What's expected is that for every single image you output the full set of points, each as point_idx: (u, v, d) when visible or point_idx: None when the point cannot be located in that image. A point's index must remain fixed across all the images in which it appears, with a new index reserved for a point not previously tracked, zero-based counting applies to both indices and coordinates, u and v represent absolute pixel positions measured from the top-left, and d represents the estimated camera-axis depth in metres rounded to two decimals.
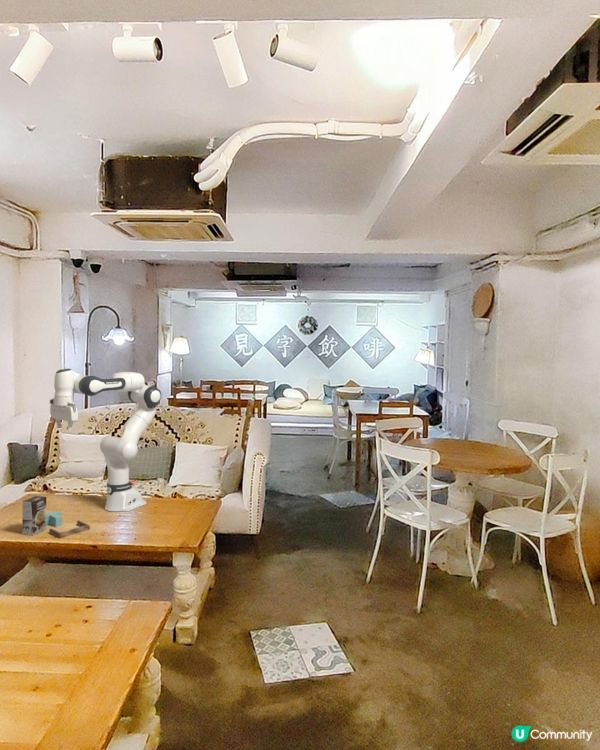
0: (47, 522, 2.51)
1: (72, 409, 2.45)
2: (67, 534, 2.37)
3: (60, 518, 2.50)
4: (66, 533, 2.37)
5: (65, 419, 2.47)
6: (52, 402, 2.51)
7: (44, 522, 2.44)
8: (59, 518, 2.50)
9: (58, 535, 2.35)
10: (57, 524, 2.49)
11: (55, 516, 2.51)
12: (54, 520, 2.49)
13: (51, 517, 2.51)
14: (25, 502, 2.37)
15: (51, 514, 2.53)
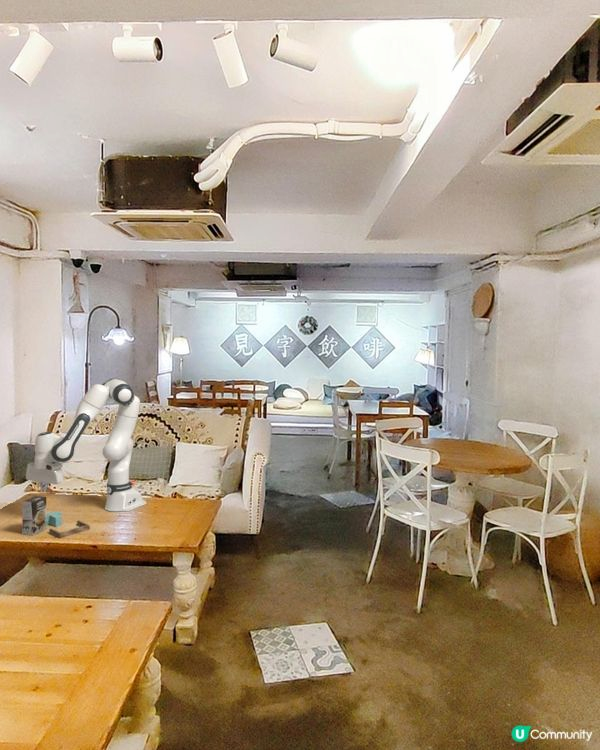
0: (47, 522, 2.51)
1: None
2: (67, 534, 2.37)
3: (60, 518, 2.50)
4: (66, 533, 2.37)
5: None
6: None
7: (44, 522, 2.44)
8: (59, 518, 2.50)
9: (58, 535, 2.35)
10: (57, 524, 2.49)
11: (55, 516, 2.51)
12: (54, 520, 2.49)
13: (51, 517, 2.51)
14: (25, 502, 2.37)
15: (51, 514, 2.53)
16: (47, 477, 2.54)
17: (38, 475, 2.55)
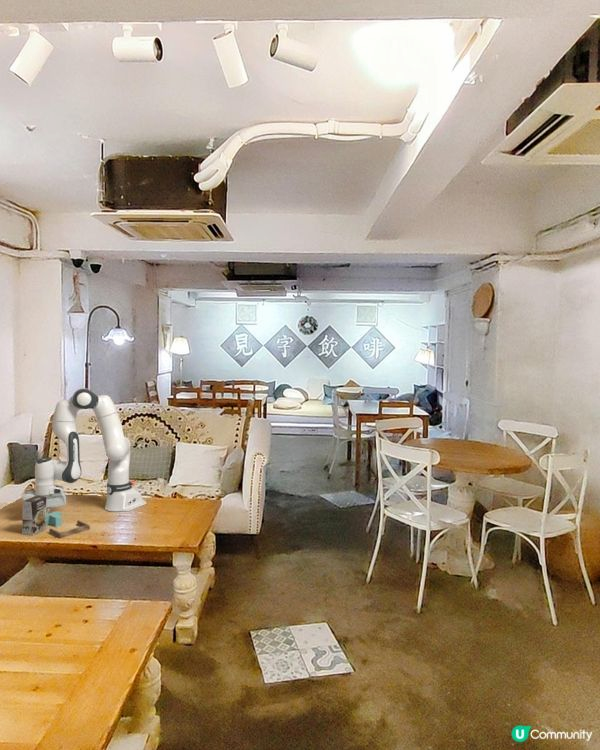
0: (47, 522, 2.51)
1: None
2: (67, 534, 2.37)
3: (60, 518, 2.50)
4: (66, 533, 2.37)
5: None
6: None
7: (44, 522, 2.44)
8: (59, 518, 2.50)
9: (58, 535, 2.35)
10: (57, 524, 2.49)
11: (55, 516, 2.51)
12: (54, 520, 2.49)
13: (51, 517, 2.51)
14: (25, 502, 2.37)
15: (51, 514, 2.53)
16: (52, 501, 2.57)
17: None
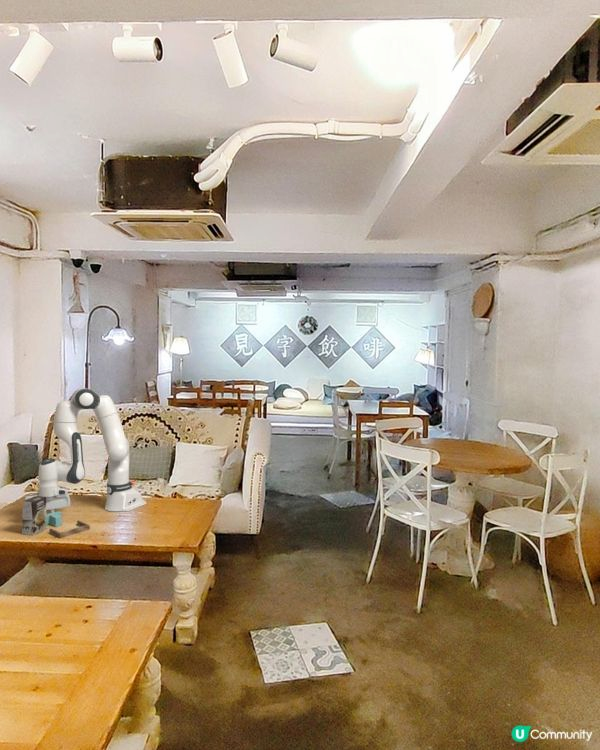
0: (47, 522, 2.51)
1: None
2: (67, 534, 2.37)
3: (60, 518, 2.50)
4: (66, 533, 2.37)
5: None
6: None
7: (44, 522, 2.44)
8: (59, 518, 2.50)
9: (58, 535, 2.35)
10: (57, 524, 2.49)
11: (55, 516, 2.51)
12: (54, 520, 2.49)
13: (51, 517, 2.51)
14: (25, 502, 2.37)
15: (51, 514, 2.53)
16: (56, 503, 2.56)
17: None
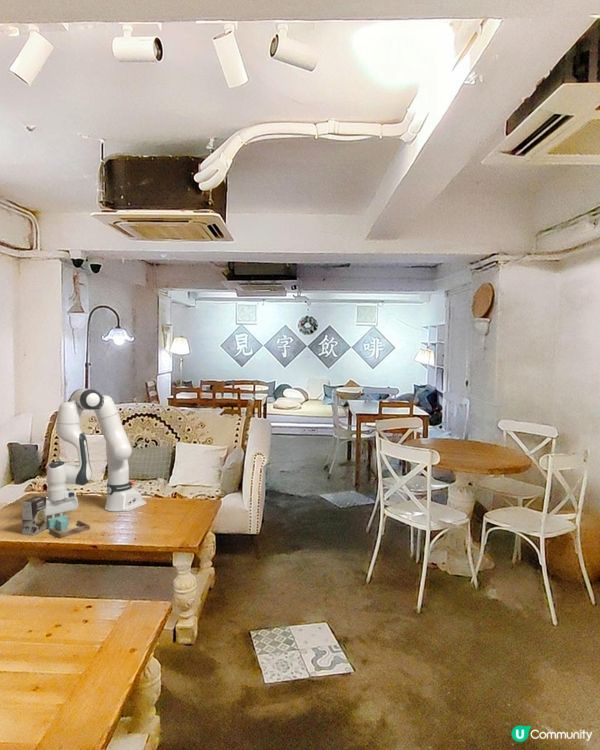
0: (53, 526, 2.46)
1: None
2: (67, 534, 2.37)
3: (66, 523, 2.44)
4: (66, 533, 2.37)
5: None
6: None
7: (44, 522, 2.44)
8: (65, 523, 2.44)
9: (58, 535, 2.35)
10: (62, 529, 2.43)
11: (61, 520, 2.45)
12: (60, 524, 2.43)
13: (57, 521, 2.45)
14: (25, 502, 2.37)
15: (58, 518, 2.48)
16: (65, 506, 2.51)
17: (54, 507, 2.47)
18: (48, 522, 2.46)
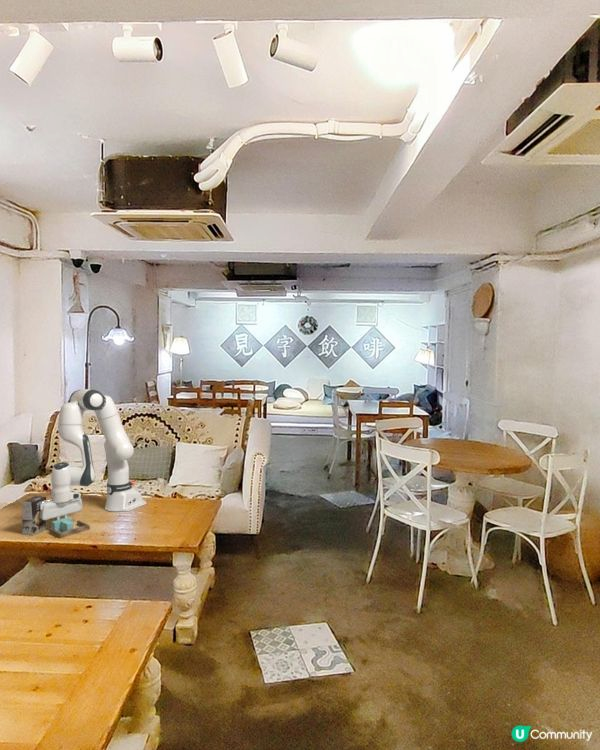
0: (58, 528, 2.43)
1: None
2: (67, 534, 2.37)
3: (72, 524, 2.42)
4: (66, 533, 2.37)
5: None
6: None
7: (44, 522, 2.44)
8: (71, 524, 2.42)
9: (58, 535, 2.35)
10: None
11: (66, 522, 2.43)
12: (65, 526, 2.41)
13: (62, 523, 2.43)
14: (25, 502, 2.37)
15: (62, 520, 2.45)
16: (70, 507, 2.49)
17: (59, 509, 2.45)
18: (52, 525, 2.42)
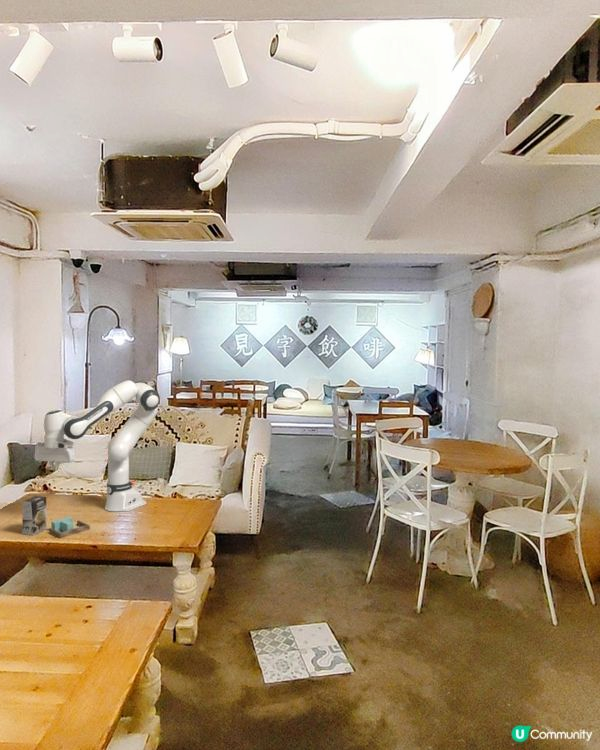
0: (58, 529, 2.43)
1: None
2: (67, 534, 2.37)
3: (72, 524, 2.42)
4: (66, 533, 2.37)
5: None
6: None
7: (44, 522, 2.44)
8: (71, 524, 2.42)
9: (58, 535, 2.35)
10: None
11: (66, 522, 2.43)
12: (65, 526, 2.41)
13: (62, 523, 2.43)
14: (25, 502, 2.37)
15: (62, 520, 2.45)
16: (58, 456, 2.50)
17: (48, 454, 2.51)
18: (52, 525, 2.42)
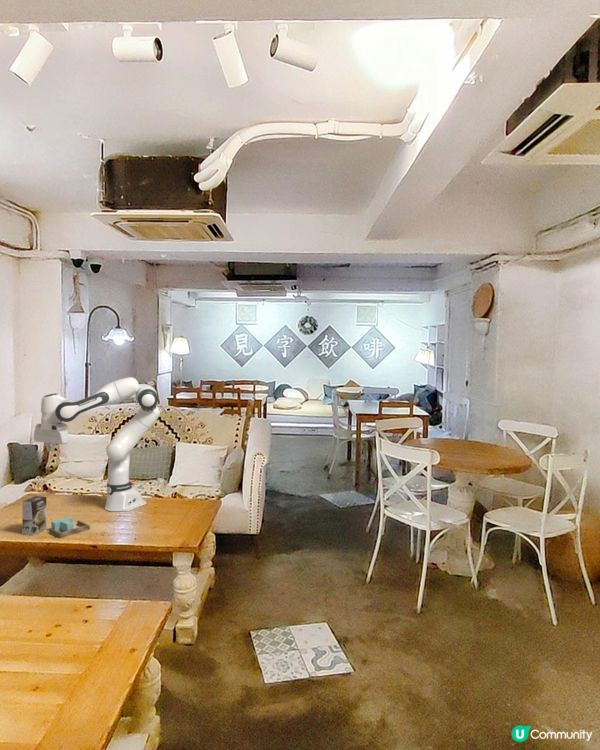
0: (58, 529, 2.43)
1: None
2: (67, 534, 2.37)
3: (72, 524, 2.42)
4: (66, 533, 2.37)
5: None
6: None
7: (44, 522, 2.44)
8: (71, 524, 2.42)
9: (58, 535, 2.35)
10: None
11: (66, 522, 2.43)
12: (65, 526, 2.41)
13: (62, 523, 2.43)
14: (25, 502, 2.37)
15: (62, 520, 2.45)
16: (52, 437, 2.58)
17: (44, 436, 2.60)
18: (52, 525, 2.42)
